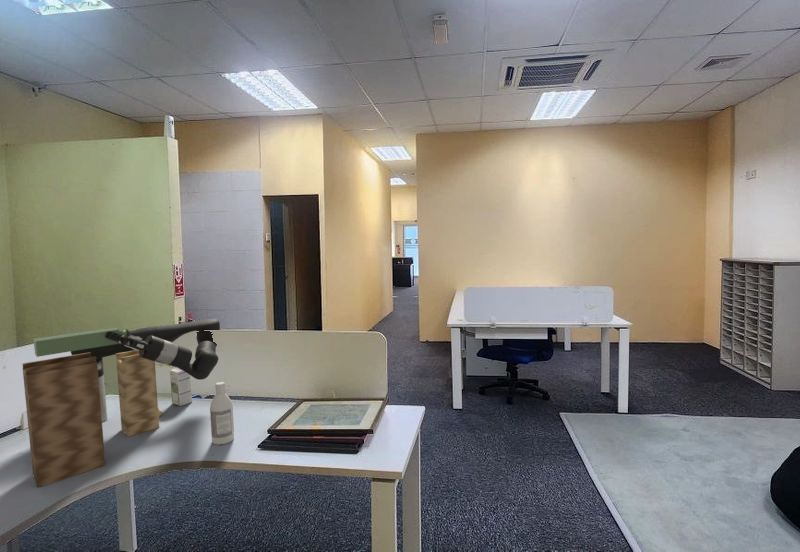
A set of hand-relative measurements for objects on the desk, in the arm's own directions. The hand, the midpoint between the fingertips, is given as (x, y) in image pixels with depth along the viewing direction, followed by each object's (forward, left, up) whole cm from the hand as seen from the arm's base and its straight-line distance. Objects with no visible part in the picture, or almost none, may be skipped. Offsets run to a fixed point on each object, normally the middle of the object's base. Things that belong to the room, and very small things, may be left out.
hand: (104, 332), depth 134 cm
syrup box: (-18, +39, -40) cm, 59 cm away
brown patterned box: (-4, -11, -40) cm, 41 cm away
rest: (-11, +16, -40) cm, 44 cm away
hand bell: (-18, +25, -40) cm, 50 cm away
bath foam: (+24, +21, -40) cm, 51 cm away
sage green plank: (-2, -5, -4) cm, 6 cm away
